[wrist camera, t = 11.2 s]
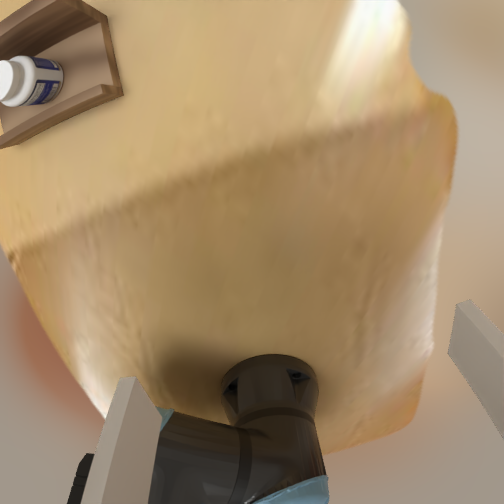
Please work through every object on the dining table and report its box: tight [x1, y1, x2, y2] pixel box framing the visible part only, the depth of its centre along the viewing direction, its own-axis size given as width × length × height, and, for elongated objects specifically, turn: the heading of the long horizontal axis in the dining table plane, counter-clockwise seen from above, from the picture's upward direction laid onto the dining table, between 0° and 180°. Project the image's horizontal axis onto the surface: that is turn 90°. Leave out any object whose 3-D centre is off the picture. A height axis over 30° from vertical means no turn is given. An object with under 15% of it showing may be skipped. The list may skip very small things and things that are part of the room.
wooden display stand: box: [0, 0, 123, 149], centre depth 23 cm, size 11×16×12 cm, turn 103°
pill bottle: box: [0, 56, 63, 107], centre depth 23 cm, size 5×5×9 cm
